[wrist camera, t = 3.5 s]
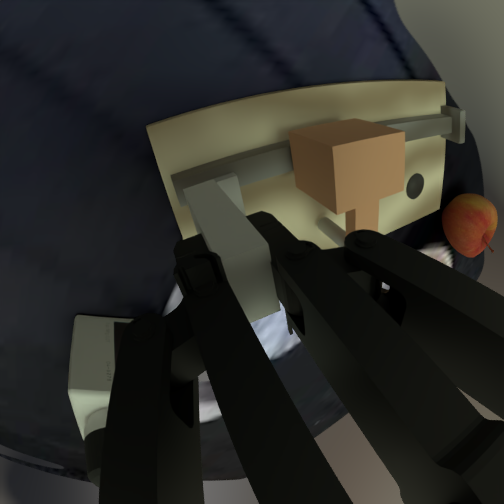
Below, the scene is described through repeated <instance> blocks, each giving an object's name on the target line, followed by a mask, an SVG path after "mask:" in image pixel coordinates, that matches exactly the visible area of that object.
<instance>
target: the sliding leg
mask: <svg viewBox="0 0 504 504" xmlns="http://www.w3.org/2000/svg"><path fill="white" fill-rule="evenodd" d="M288 134H289V141H290V147H291V154H292V161H293V168H294V175H295V183H296V187H297V188H298V189H300V190H301V191H303V192H304V193H306V194H307V195H309V196H310V197H311V198H313V199H314V200H316V201H317V202H319V203H320V204H322V205H323V206H324V207H326V208H327V209H329V210H330V211H332V212H333V213H334V214H336V215H339V214H342V213H345V224H346V231H345V230H343V229H342V228H341V227H339V226H338V225H337V224H336V223H334V222H333V221H332V220H330V219H329V218H327V217H323V218H321V219H320V220H319V222H318V229H319V230H321V231H322V232H323V233H324V234H325V235H327V236H328V237H329V238H330V239H331V240H332V241H334V242H335V243H336V244H337V245H338V246H339V247H343V246H344V240H345V237H346V236H347V235H348V234H349V233H351V232H353V231H355V230H361V229H366V230H373V231H376V232H378V220H379V200H380V199H382V198H385V197H388V196H391V195H393V194H396V193H399V192H401V191H404V176H405V131H402V130H398V129H395V128H391V127H388V126H384V125H381V124H377V123H373V122H369V121H365V120H361V119H357V118H353V119H347V120H341V121H336V122H331V123H325V124H320V125H315V126H310V127H306V128H301V129H297V130H292V131H288Z"/></svg>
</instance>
